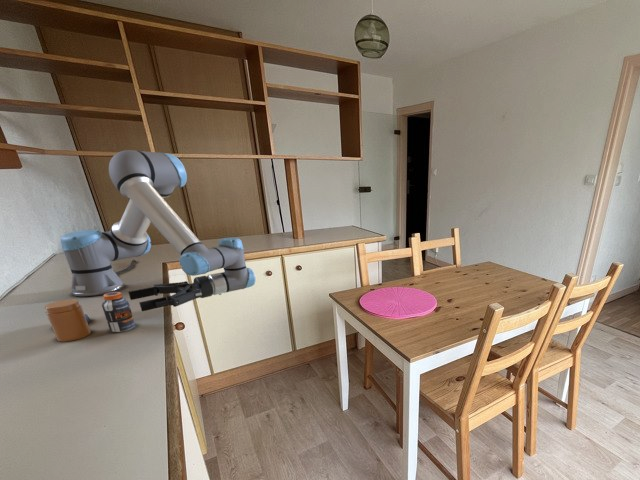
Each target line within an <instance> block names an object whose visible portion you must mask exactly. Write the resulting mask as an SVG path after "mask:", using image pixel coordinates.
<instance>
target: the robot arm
mask: <svg viewBox="0 0 640 480" xmlns="http://www.w3.org/2000/svg"><path fill="white" fill-rule="evenodd" d="M108 175H109V178H110V180H111V182H112V184H113V185H114V187H115V189H116V190H117V191H118V192H119V193H120V194H121V195H122V196H123V197H124V198H127V199H128V198H129V201H128V202H127V205H126V207H125V210H124V212H123V214H122V216H121V218H120V220H119V221H117V222H115V223H113V225H112V226H111V228H110V230H108V231H101V230H99V229H95V228H94V229H82V230H75V231H72V232H68V233H66V234H63V235H62V236H61V237H60V239H59V240H60V245H61V249H62V251H63V254H64V256H65V259H66V261H67V264H68V266H69V269H70V272H71V274H72V277H71V287H70V290H71V293H72V296H74V297H80V298H81V297H83V298H84V297H85V298H86V297H95V296H102V295H104V294H107V293H111V292H119V291H120V290H122V289H124V287H125V285H124V282H123V281H122V279H121V278H120V277H119V276H118V275H119V274H122V273H124V272H126V271H128V270H130V269H132V268H133V267H134V264H135V263H137V260H135V259H132V261H131V262H130V265H129V266H128V267H126V268H124V269H121V270H118V271H116V272H115V271H114V269H113V266H112V263H111V262H115V261H119V260H125V259H131V258H138V257H140V256H143V255H147V254H148V253H149V251H150V250H151V247H152V243H151V242H152V241H151V238H150V235H149V234H148V232H147V230H148V229H149V227H150V225H151V224H152V225H153V226H154V227H155V228H156V230H158V232H159V233H160V234H161V235H162V236H163V238H165V240H166V241H168V243H169V244H170V245H171V246H172V247H173V248H174V250H175V251H176V252H177V253H178V254H179V255H180V257H179V259H178V261H179V262H178V264H179V266H181V270H182V272H184V273H185V274H186V275H188V276H191V277H192V276H193V277H194V278H193V282H192V283H189V282H188V281H187V280H185V281H180V282H169V283H168V282H167V283H155V284H153V286H152V287H151V286H150V287H145V288H140V289H134V290H129V291H128V296H129V299H130V300H131V301H134V300H138V299H143V298H148V297H153V296H155V297H157V296H158V295H159V294H160V295H161V294H168V295H166V296H163V297H158V298H154V299H148V300H143V301H139V306H140V310H141V312H147V311H151V310H155V309H160V308H164V307H168V306H171V307H174V308H175V307H179V306H181V305H183V304H185V303H186V304H187V303H189V302H191V301H194V300H196V299H206V298H209V297H212V296H217V295H218V296H221V295H222V294H225V293H229V292H230V293H231V292H235V291H239V290H245V289H247V288H250V287H251V288H252V287H253V286H254V285H255V284H256V275H255V272H254V270H253V269H251V268H250V267H247V263H246V259H245V249H244V245H243V241H242V239H240V238H239V237H224V238H220V239H219V240H218V245H217V246H214V247H208V248H207V247H206V246H205V245H204V243H203V242H202V241H201V240H200V239H199V238H198V237H197V236H196V234H195V233H194V232H193V231H192V230H191V229H190V228H189V226H188V225H187V224H186V223H185V221H183V220H182V218H181V217H180V216H179V215H178V214H177V213H176V211H175V210H174V209H173V208H172V207H171V206H170V205H169V203H168V202H167V200H165V199H164V198H169V197H170V196H171V195H172V193H173V192H174V190H175V188H179V189H180V188H183V187H185V186H186V184H187V181H188V176H187V175H188V174H187V171H186V169H185V165H184V164H183V163H182V161H181V160H180V159H179V158H178V157H177V156H176V155H174V154H171V153H165V152H163V151H162V152H161V151H160V152H156V151H143V150H135V149H134V150H133V149H126V150H125V149H124V150H121V151H119V152H116V153H115V154H114V155H113V156H112V157H111V159H110V160H109V164H108ZM220 269H223V272H215V273H211V272H213V271H216V270H220ZM208 273H210V274H208ZM205 274H207V275H205ZM199 275H201V276H199ZM195 276H196V277H195ZM170 294H172V295H170Z"/></svg>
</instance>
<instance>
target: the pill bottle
mask: <svg viewBox="0 0 640 480" xmlns="http://www.w3.org/2000/svg"><path fill="white" fill-rule="evenodd" d="M103 300H104V301H103V302H102V303H101V307H102V309H103V313H104V316H105V320H106V323H107V326H108V328H109V331H110V332H112V333H122V332H127V331H129V330H131V329H134V328H135V327H136V322H135V319H134V317H133V316H134V315H133V313H132V309H131V306H130V303H129V300H128V299H127V298H126V297H125V298H124V296H123V294H122V292H120V291H115V292H111V293H107V294H103Z"/></svg>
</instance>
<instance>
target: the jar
mask: <svg viewBox="0 0 640 480" xmlns="http://www.w3.org/2000/svg"><path fill="white" fill-rule="evenodd" d="M44 309H45V310H46V311H45V314H46V317H47V319H48V322H49V324H50V327H51V328H52V331H53V333H54V335H55V338H56V341H58V342H71V341H77V340H80V339H83V338H85V337H87V336H90V335H91V333H92V331H91V328H90V326H89V323H87V320H86V317H85V315H84V314H85V312H84V310H83V307H82V305H81V304H80V303H79V300H78V299H74V298H73V299H63V300H57V301H53V302H50V303H48V304H46V305H45V306H44Z"/></svg>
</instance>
